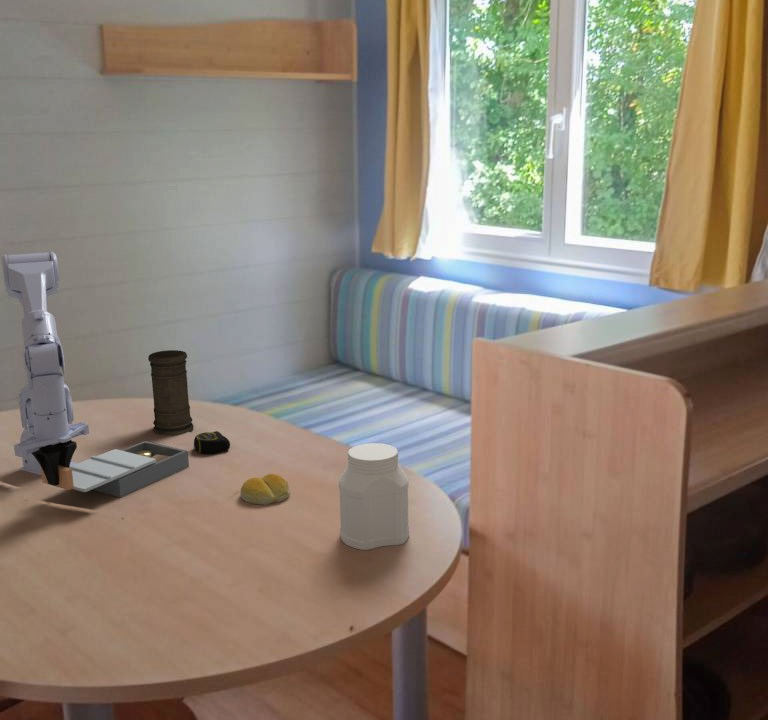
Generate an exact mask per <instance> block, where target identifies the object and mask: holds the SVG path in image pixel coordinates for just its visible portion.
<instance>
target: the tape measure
mask: <svg viewBox="0 0 768 720" xmlns="http://www.w3.org/2000/svg"><path fill="white" fill-rule="evenodd" d="M193 448H194V449H195V452H197V453H198V454H201V455H215V454H219V453H223V452H226V451H229V450H230V448H231V442H230V440H229V439H228V438H227V437H226V436H224V435H223V434H222V433H221V432H220V431H217V430H216V431H211V432H208V431H205V432H201V433H198V434H197V435H195V436H194V439H193Z"/></svg>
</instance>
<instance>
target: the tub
mask: <svg viewBox="0 0 768 720" xmlns="http://www.w3.org/2000/svg"><path fill="white" fill-rule="evenodd" d="M120 450H121V451H125V452H129V453H133V454H135V453H136V452H139V451H150V452H151V455H152V457H153V456H155V455H157V454H158V455H165V456H170V457H168V458H166V459H163V460H161V461H159V462H156V463H154V464H152V465H149V466H147V467H145V468H141V469H139V470H136V471H134V472H132V473H129V474H127V475H125V476H122V477H120V478H117V479H115V480H113V481H110V482H108V483H106V484H103V485H101V486H99V487H96V488H94V489H92V491H93V490H94V491H96V492H100V493H102V494H107V495H110V496H114V497H118V498H123V497H125V496H128V495H130V494H132V493H134V492H136V491H138V490H140V489H143V488H145V487H148V486H150V485H153V484H155V483H156V482H159V481H161V480H163V479H166V478H167V477H170V476H173V475H175V474H176V473H179V472H181V471H183V470H185V469H188V468H189V467H190V464H189V463H190V462H189V451H188V450H186V449H183V448H182V449H181V448H178V447H173V446H168V445H164V444H160V443H156V442H151V441H147V440H144V441H142V442H138V443H136V444H133V445H131V446H128V447H126V448H124V449H120Z"/></svg>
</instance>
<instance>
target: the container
mask: <svg viewBox="0 0 768 720" xmlns="http://www.w3.org/2000/svg"><path fill="white" fill-rule="evenodd" d="M187 354H188V353H187V352H186V351H183V350H177V349H176V350H175V349H174V350H173V349H172V350H171V349H169V350H161V351H155V352H152V353H151V354H149V355H148V358H147V361H149V362H150V363H149V365H150V369H151V370H150V371H151V372H150V376H151V383H152V385H151V386H152V396H153V397H152V398H153V415H154V421H153V422H152V424H153V425H154V427H153V432H154V433H155V434H157V435H160V436H179V435H184V434H188V433H192V432H193V430H194V427H195V426H194V424H193V422H192V421H193V418H192V416H191V406H190V399H189V392H188V390H189V389H188V388H189V386H188V376H187V373H188V370H187V369H186V368H187V367H186V366H187V365H186V364H187V360H186V359H188V355H187Z"/></svg>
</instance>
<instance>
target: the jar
mask: <svg viewBox="0 0 768 720" xmlns="http://www.w3.org/2000/svg"><path fill="white" fill-rule="evenodd" d="M347 463H348V464H347V466H346V467H345V469H344V471H343V472H342V474H341V475H340V476H339V478H338V489H339V510H340V511H339V513H340V529H339V530H340V531H339V533H340V539H341V542H342V543H344V544H345V545H347V546H348V547H351V548H353V549H356V550H360V551H368V550H373V549H377V548H381V547H388V546H400V545H403V544H404V543H406V542H407V541H408V539H409V536H410V526H409V477H408V475H407V474H406V472H405V471H404V470H403V468H402V467H401V466H400V464H399V450H398V448H396V447H395V446H393V445H390V444H386V443H378V442H375V443H372V442H371V443H363V444H362V443H361V444H358V445H354V446H353V447H351V448H350V449H349V450H347Z"/></svg>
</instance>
